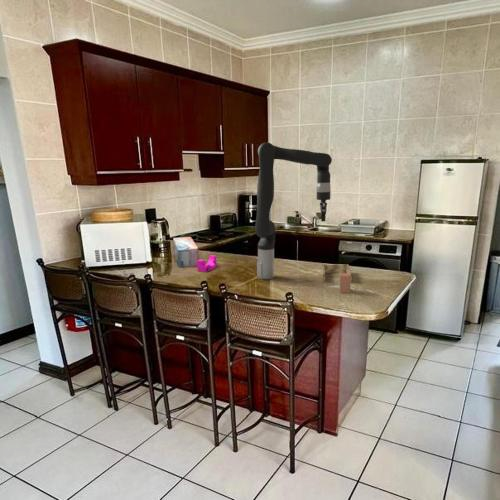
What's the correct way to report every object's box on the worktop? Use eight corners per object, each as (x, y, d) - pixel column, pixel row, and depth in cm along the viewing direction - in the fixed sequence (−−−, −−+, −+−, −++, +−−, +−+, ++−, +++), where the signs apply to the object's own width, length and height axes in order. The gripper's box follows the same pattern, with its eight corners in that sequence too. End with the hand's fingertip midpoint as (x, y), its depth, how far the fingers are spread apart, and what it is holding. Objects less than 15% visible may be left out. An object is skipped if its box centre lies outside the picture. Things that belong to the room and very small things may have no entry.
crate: (322, 282, 210) (322, 273, 209) (321, 272, 230) (322, 264, 228) (351, 283, 208) (351, 274, 207) (348, 272, 227) (348, 264, 226)
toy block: (205, 273, 235) (205, 261, 233) (197, 272, 238) (197, 260, 237) (219, 267, 248) (219, 256, 246) (211, 266, 251) (211, 255, 249)
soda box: (173, 254, 286) (172, 237, 283) (192, 252, 289) (191, 236, 286) (178, 268, 248) (177, 249, 245) (200, 266, 251) (198, 247, 248)
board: (344, 301, 182) (344, 299, 182) (322, 288, 200) (322, 287, 200) (368, 296, 187) (368, 295, 187) (344, 284, 205) (344, 283, 205)
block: (339, 293, 192) (340, 275, 189) (339, 289, 196) (339, 272, 194) (350, 293, 191) (350, 276, 189) (349, 289, 195) (349, 273, 193)
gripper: (331, 191, 202) (330, 222, 206) (330, 189, 216) (329, 218, 219) (316, 192, 203) (316, 222, 207) (316, 190, 217) (316, 218, 220)
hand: (323, 220), depth 213 cm, fingers open, 8 cm apart
